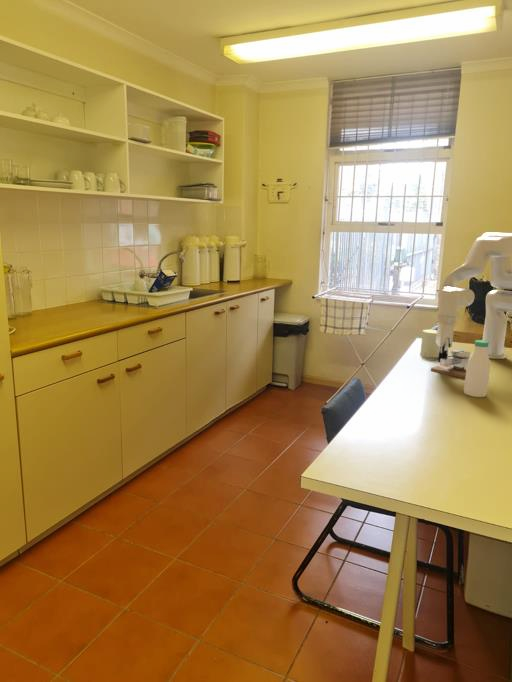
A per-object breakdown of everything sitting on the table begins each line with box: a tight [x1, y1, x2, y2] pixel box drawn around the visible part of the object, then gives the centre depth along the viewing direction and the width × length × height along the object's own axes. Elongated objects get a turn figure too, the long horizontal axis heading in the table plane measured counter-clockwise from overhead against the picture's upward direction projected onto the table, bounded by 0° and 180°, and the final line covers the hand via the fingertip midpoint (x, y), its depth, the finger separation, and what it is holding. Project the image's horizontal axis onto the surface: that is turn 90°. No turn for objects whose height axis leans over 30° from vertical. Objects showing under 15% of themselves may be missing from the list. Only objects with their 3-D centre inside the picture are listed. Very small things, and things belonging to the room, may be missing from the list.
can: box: [419, 329, 440, 358], centre depth 240 cm, size 9×9×12 cm
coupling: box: [439, 349, 471, 368], centre depth 211 cm, size 7×14×6 cm, turn 121°
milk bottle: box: [463, 339, 491, 398], centre depth 183 cm, size 8×8×20 cm
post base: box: [430, 356, 467, 380], centre depth 213 cm, size 16×16×7 cm
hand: (442, 362), depth 213 cm, fingers closed
